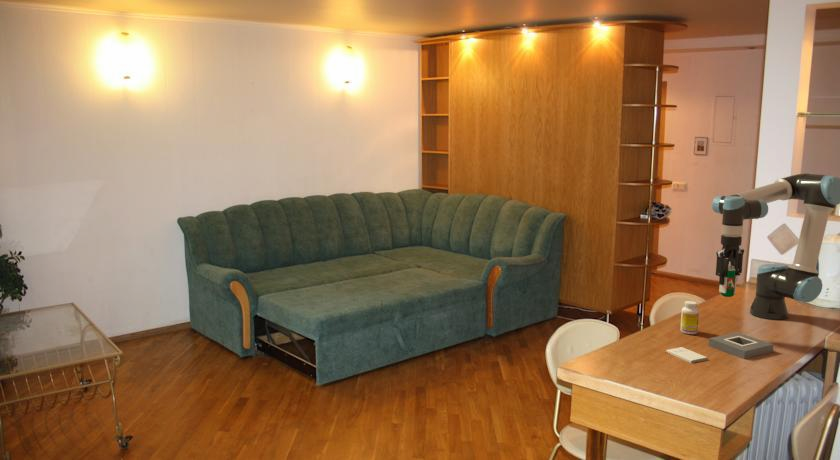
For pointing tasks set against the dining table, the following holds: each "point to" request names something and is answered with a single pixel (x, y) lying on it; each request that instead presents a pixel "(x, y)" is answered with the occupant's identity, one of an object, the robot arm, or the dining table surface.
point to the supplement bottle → (689, 318)
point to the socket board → (741, 345)
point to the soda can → (730, 282)
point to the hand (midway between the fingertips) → (727, 291)
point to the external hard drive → (686, 355)
